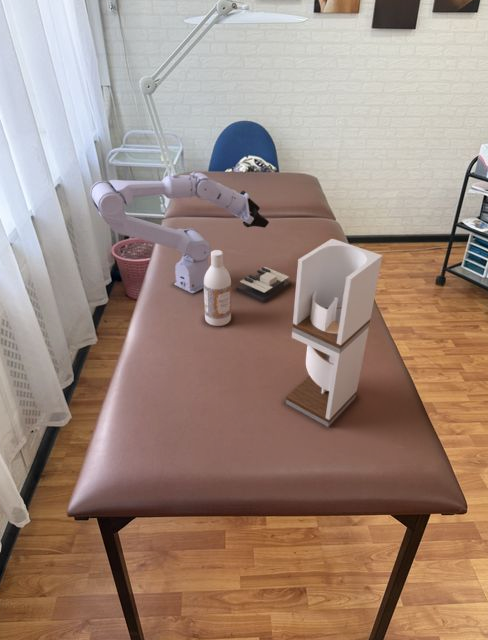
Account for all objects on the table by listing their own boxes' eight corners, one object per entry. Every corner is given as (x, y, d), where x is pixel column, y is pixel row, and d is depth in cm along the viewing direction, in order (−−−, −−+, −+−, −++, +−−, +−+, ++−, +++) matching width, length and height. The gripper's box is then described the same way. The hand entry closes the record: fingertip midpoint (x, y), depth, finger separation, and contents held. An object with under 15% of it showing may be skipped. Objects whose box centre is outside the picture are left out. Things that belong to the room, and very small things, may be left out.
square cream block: (276, 282, 147) (277, 275, 146) (269, 286, 145) (269, 280, 144) (267, 277, 149) (267, 271, 148) (259, 282, 147) (259, 276, 146)
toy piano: (290, 285, 151) (291, 276, 149) (263, 303, 143) (263, 294, 141) (264, 274, 156) (264, 265, 155) (236, 290, 148) (236, 281, 146)
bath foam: (213, 329, 132) (211, 261, 120) (200, 317, 136) (197, 250, 125) (235, 321, 135) (236, 254, 123) (222, 309, 139) (221, 243, 128)
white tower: (314, 377, 117) (332, 238, 97) (355, 397, 111) (382, 255, 92) (286, 403, 110) (298, 259, 90) (328, 427, 104) (350, 279, 84)
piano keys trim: (289, 277, 149) (289, 274, 149) (264, 292, 142) (264, 290, 141) (265, 267, 154) (265, 265, 153) (239, 281, 146) (239, 279, 146)
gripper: (243, 201, 135) (279, 220, 143) (227, 174, 144) (261, 193, 153) (228, 221, 138) (264, 239, 146) (213, 194, 147) (248, 212, 156)
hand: (262, 217), depth 150 cm, fingers open, 7 cm apart
